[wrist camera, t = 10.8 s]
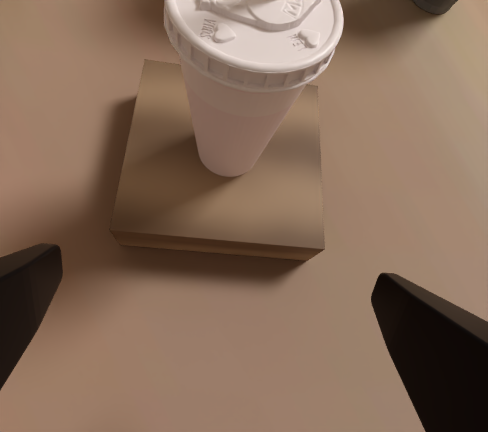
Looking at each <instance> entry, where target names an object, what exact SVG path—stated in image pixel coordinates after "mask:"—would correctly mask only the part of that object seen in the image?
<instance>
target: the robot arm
mask: <svg viewBox="0 0 488 432" xmlns="http://www.w3.org/2000/svg"><path fill="white" fill-rule="evenodd" d="M62 274H63V270H62V259H61V250H60V247H59V246H58V245H55V244H44V243H43V244H38V245H35V246H33V247H30V248H27V249H24V250H21V251H18V252H15V253H12V254H10V255H7V256H4V257H1V258H0V390H1V388H2V387H3V385H4V384H5V382H6V380H7V379H8V377H9V375H10V374H11V372H12V371H13V369H14V367H15V366H16V364H17V363H18V361H19V359H20V358H21V356H22V355H23V353H24V351H25V350H26V348H27V346H28V345H29V343H30V342H31V340H32V338H33V337H34V335H35V333H36V332H37V330H38V328H39V326H40V324H41V322H42V320H43V318H44V316H45V313H46V311H47V309H48V307H49V305H50V303H51V301H52V299H53V296H54V294H55V292H56V290H57V288H58V286H59V284H60V282H61V279H62ZM371 303H372V306H373V309H374V312H375V315H376V318H377V321H378V324H379V326H380V329H381V332H382V335H383V338H384V341H385V344H386V346H387V349H388V351H389V354H390V356H391V358H392V360H393V362H394V365H395V367H396V369H397V371H398V373H399V375H400V378H401V380H402V382H403V384H404V386H405V388H406V391H407V393H408V395H409V397H410V399H411V401H412V403H413V406H414V408H415V410H416V412H417V414H418V416H419V419H420V421H421V423H422V425H423V427H424V429H425V432H488V322H487V321H485V320H483V319H481V318H479V317H477V316H476V315H474V314H472V313H470V312H468V311H466V310H464V309H462V308H460V307H458V306H456V305H454V304H452V303H451V302H449V301H447V300H445V299H443V298H441V297H439V296H437V295H435V294H433V293H431V292H429V291H428V290H426V289H424V288H422V287H420V286H418V285H416V284H414V283H412V282H410V281H408V280H406V279H404V278H403V277H401V276H399V275H397V274H394V273H381V274H380V275H379V276H378V279H377V281H376V284H375V287H374V290H373V292H372V296H371Z"/></svg>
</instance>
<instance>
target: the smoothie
mask: <svg viewBox="0 0 488 432" xmlns="http://www.w3.org/2000/svg"><path fill="white" fill-rule="evenodd" d="M343 22H344V18H343V11H342V7H341V4H340V1H339V0H164V26H165V29H166V32H167V35H168V37H169V40H170V43H171V44H172V46H173V47H174V48H175V50H176V51H177V52H178V54H179V57H180V62H181V68H182V72H183V77H184V82H185V87H186V92H187V97H188V102H189V107H190V112H191V117H192V122H193V127H194V133H195V138H196V143H197V148H198V153H199V157H200V159H201V161H202V163H203V164H204V165H205V166H206V167H207V168H208V169H209V170H210V171H212V172H213V173H215V174H218V175H221V176H225V177H235V176H239V175H242V174H244V173H246V172H248V171H249V170H250V169H251V168H252V167H253V165H254V164H255V162H256V161H257V159H258V158H259V156H260V155H261V153H262V152H263V150H264V148H265V147H266V145H267V144H268V142H269V141H270V139H271V138H272V136H273V135H274V133H275V131H276V130H277V128H278V127H279V125H280V124H281V122H282V121H283V119H284V118H285V116H286V114H287V113H288V111H289V110H290V108H291V107H292V105H293V104H294V102H295V101H296V99H297V98H298V97H299V95H300V93H301V92H302V90H303V89H304V87H305V85H306V84H307V83H309V82H311V81H313V80H314V79H315V78H317V77H318V76H319V75H320V74H321V73H322V72H323V71H324V70H325V69H326V68H327V66H328V64H329V62H330V60H331V58H332V56H333V54H334V51H335V47H336V45H337V44H338V42H339V39H340V37H341V34H342V31H343Z"/></svg>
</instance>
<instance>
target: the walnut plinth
mask: <svg viewBox="0 0 488 432" xmlns="http://www.w3.org/2000/svg"><path fill="white" fill-rule="evenodd" d="M109 230H110V232H111V233H112V234H113V236H114V237H115V238H116V240H117V241H118V242H119V243H120V245H127V246H139V247H151V248H163V249H174V250H186V251H198V252H210V253H222V254H234V255H246V256H258V257H270V258H282V259H294V260H306V261H308V260H309V259H311V258H312V257H314V256H315V255H317V254H318V253H320V252H321V251H323V250H324V249H325V242H324V220H323V197H322V174H321V152H320V129H319V107H318V86H315V85H308V84H306V85H305V87H304V89H303V90H302V92H301V93H300V95H299V97H298V98H297V99H296V101H295V102H294V104H293V105H292V107H291V108H290V110H289V111H288V113H287V114H286V116H285V118H284V119H283V121H282V122H281V124H280V125H279V127H278V128H277V130H276V131H275V133H274V135H273V136H272V138H271V139H270V141H269V142H268V144H267V145H266V147H265V148H264V150H263V152H262V153H261V155H260V156H259V158H258V159H257V161H256V162H255V164H254V165H253V167H252V168H251V169H250V170H249V171H248V172H246V173H244V174H242V175H239V176H235V177H225V176H221V175H218V174H215V173H213V172H212V171H210V170H209V169H208V168H207V167H206V166H205V165H204V164H203V163H202V161H201V159H200V157H199V153H198V148H197V143H196V138H195V133H194V127H193V122H192V117H191V112H190V107H189V102H188V97H187V92H186V87H185V82H184V77H183V72H182V68H181V65H179V64H172V63H166V62H159V61H153V60H146V59H145V61H144V66H143V70H142V75H141V80H140V85H139V89H138V94H137V99H136V104H135V109H134V113H133V118H132V123H131V128H130V133H129V137H128V142H127V147H126V152H125V157H124V161H123V166H122V171H121V176H120V181H119V185H118V190H117V195H116V200H115V205H114V209H113V214H112V219H111V224H110V228H109Z"/></svg>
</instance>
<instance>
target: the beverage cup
mask: <svg viewBox="0 0 488 432" xmlns="http://www.w3.org/2000/svg"><path fill="white" fill-rule="evenodd" d="M413 1H414V2H415V3H416V4H417V5H418V6H419V7H420V8H422V9H423V10H425V11H427V12H430V13H434V14H443V13H446V12H447V11H448V10H449V9H450V8H451V7H452V5H453V4H455V3H456V2H457V1H458V0H413Z"/></svg>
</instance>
